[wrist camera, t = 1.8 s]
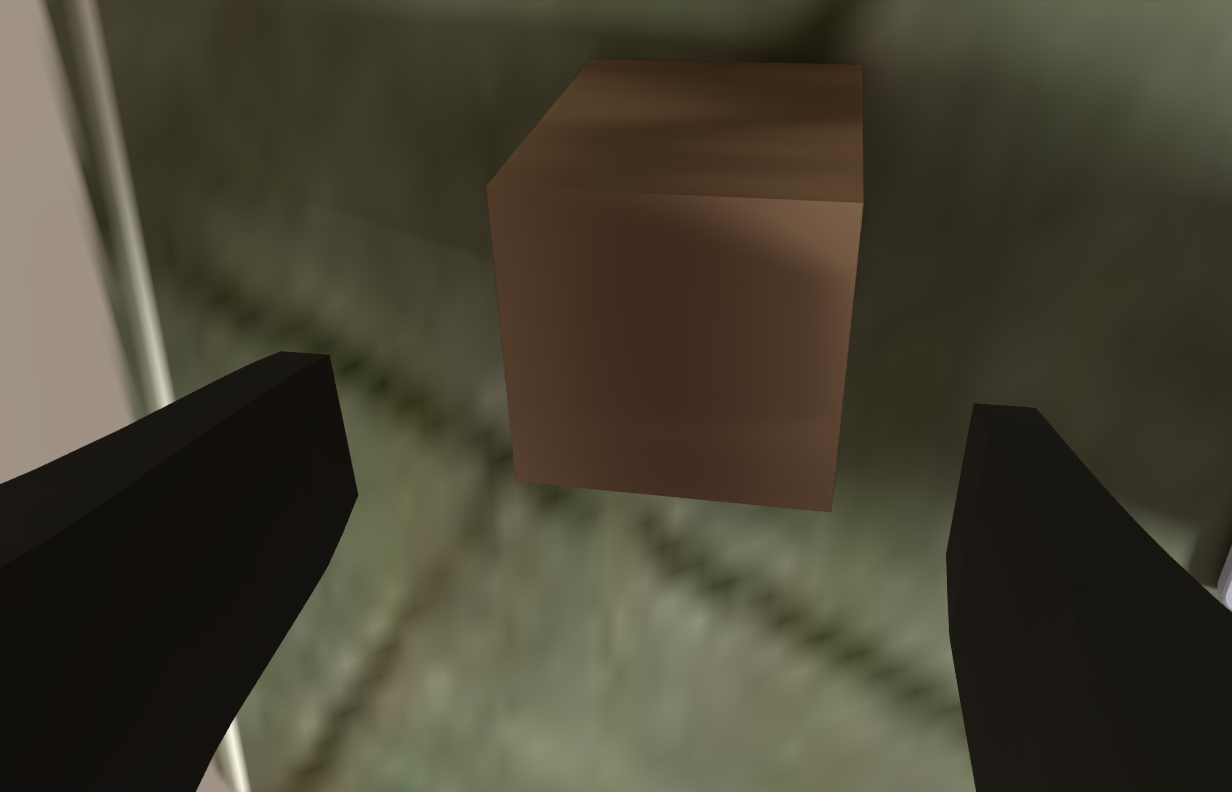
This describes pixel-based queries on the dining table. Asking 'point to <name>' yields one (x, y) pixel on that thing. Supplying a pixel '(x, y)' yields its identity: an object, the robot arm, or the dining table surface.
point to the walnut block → (683, 279)
